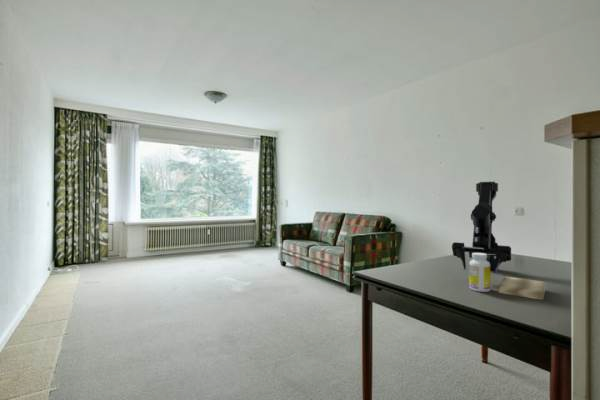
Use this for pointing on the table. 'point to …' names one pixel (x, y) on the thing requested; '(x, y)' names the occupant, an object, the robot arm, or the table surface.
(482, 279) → the supplement bottle
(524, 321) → the table surface
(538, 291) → the oak board
